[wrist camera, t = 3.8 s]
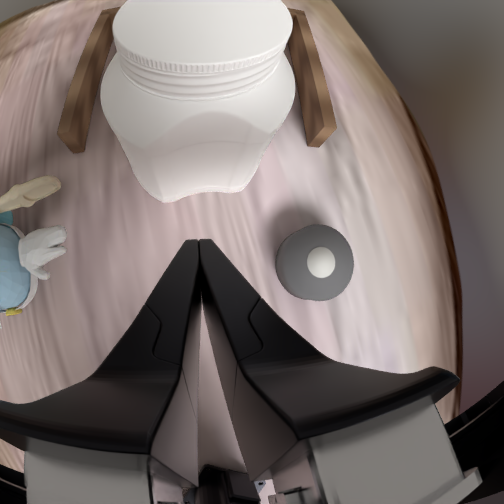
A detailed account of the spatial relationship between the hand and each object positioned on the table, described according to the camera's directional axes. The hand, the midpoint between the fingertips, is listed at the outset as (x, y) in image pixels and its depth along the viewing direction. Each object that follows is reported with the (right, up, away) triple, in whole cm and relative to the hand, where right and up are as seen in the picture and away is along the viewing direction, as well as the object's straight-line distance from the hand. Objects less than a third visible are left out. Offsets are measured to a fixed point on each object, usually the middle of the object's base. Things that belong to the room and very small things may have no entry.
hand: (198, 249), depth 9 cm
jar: (-3, +9, +14) cm, 17 cm away
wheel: (+7, -1, +15) cm, 16 cm away
